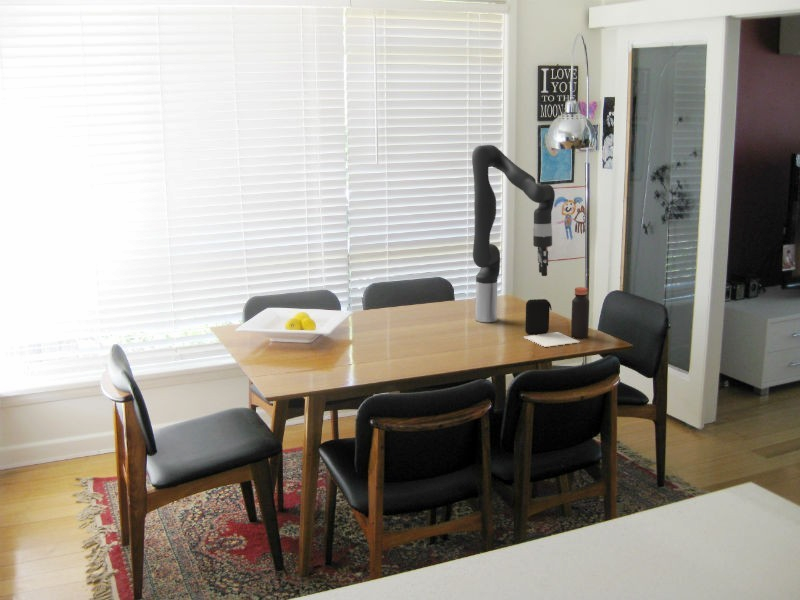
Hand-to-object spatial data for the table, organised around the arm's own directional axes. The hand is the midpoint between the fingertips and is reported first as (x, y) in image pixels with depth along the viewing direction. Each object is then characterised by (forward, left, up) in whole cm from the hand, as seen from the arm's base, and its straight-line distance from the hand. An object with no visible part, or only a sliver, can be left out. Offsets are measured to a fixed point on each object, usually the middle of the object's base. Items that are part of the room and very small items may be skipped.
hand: (543, 274), depth 343 cm
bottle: (+13, +10, -25) cm, 29 cm away
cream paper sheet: (+13, -3, -24) cm, 28 cm away
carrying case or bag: (+3, -3, -25) cm, 25 cm away
